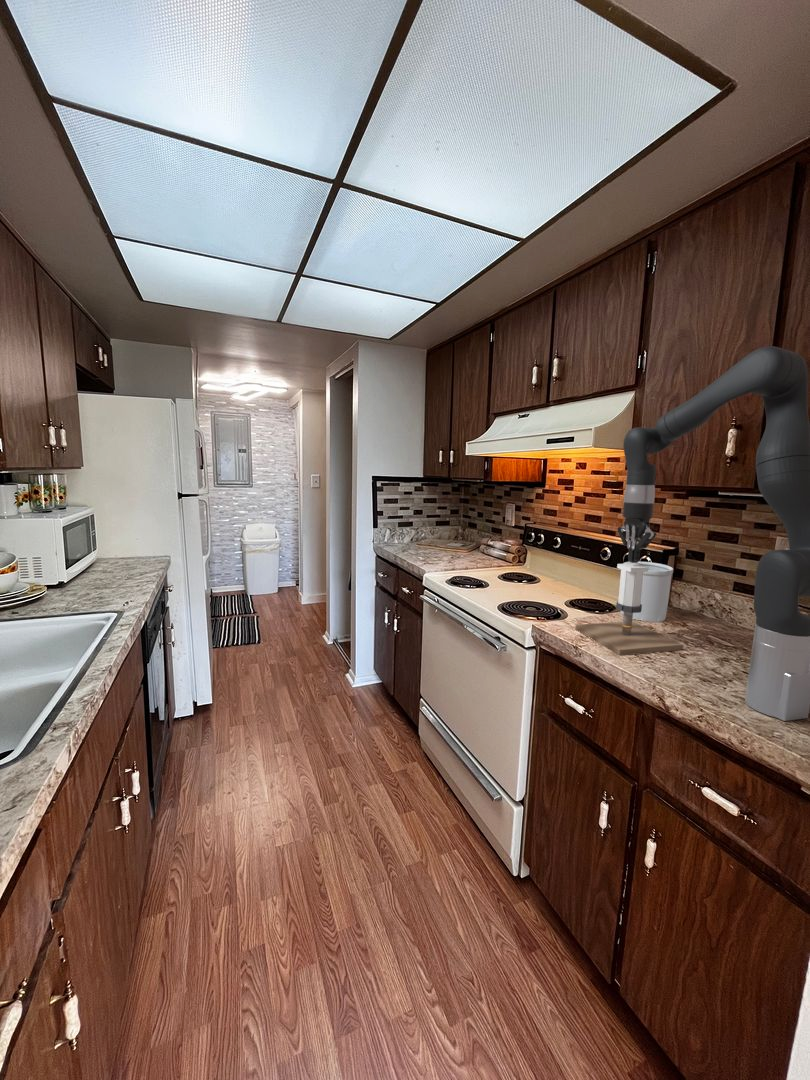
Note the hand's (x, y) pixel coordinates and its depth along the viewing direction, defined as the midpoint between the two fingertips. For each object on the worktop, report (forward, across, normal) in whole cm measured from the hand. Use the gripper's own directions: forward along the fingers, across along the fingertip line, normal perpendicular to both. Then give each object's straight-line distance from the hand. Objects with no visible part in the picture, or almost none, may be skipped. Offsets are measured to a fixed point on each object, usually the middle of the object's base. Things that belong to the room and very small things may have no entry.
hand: (633, 562), depth 127 cm
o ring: (+14, 0, 0) cm, 14 cm away
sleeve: (+12, 0, 0) cm, 12 cm away
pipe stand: (+23, 0, 0) cm, 23 cm away
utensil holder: (+23, +18, -21) cm, 36 cm away
